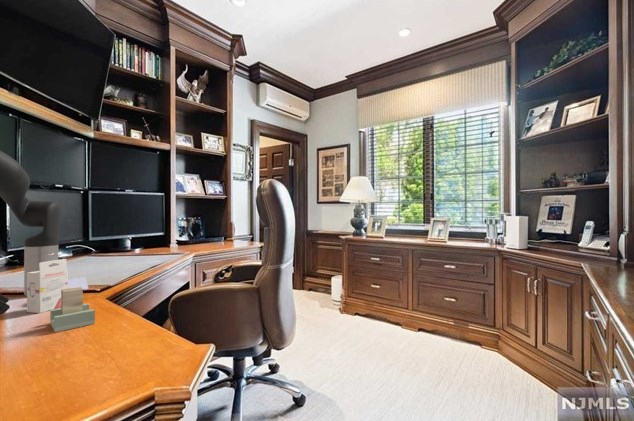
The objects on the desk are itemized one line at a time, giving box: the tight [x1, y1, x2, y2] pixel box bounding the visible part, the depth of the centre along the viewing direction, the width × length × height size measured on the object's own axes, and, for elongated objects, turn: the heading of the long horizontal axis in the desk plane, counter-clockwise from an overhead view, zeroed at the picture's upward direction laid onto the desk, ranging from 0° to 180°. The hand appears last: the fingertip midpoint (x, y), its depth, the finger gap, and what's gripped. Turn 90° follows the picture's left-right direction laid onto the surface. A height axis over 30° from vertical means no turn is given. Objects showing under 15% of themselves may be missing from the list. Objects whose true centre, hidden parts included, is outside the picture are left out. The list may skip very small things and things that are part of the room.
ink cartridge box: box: [26, 258, 69, 314], centre depth 94 cm, size 9×5×15 cm, turn 168°
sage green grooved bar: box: [49, 302, 96, 333], centre depth 81 cm, size 9×8×4 cm
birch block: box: [60, 287, 84, 315], centre depth 81 cm, size 4×4×8 cm
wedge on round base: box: [68, 276, 89, 290], centre depth 104 cm, size 9×7×13 cm
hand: (5, 307), depth 72 cm, fingers open, 8 cm apart
